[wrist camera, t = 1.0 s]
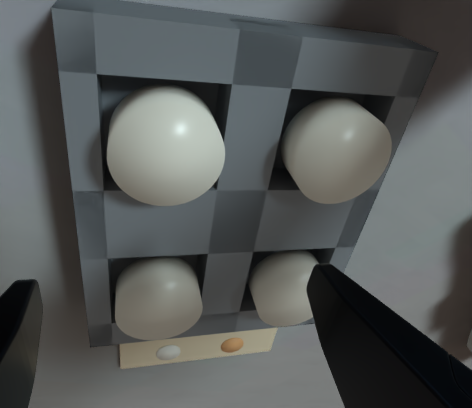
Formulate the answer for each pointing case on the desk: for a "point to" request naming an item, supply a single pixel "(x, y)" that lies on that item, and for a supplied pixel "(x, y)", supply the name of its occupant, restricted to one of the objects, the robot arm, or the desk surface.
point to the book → (470, 341)
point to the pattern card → (195, 347)
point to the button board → (234, 137)
